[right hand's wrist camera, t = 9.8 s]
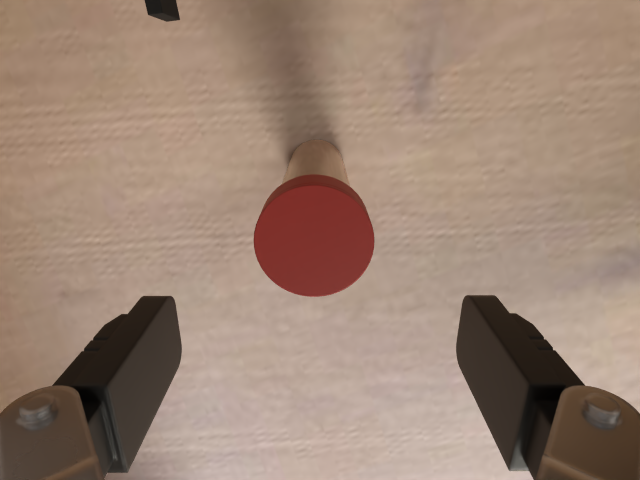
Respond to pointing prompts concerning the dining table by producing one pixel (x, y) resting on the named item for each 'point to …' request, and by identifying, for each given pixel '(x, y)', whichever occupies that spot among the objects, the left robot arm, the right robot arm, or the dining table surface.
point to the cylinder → (316, 161)
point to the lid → (314, 236)
